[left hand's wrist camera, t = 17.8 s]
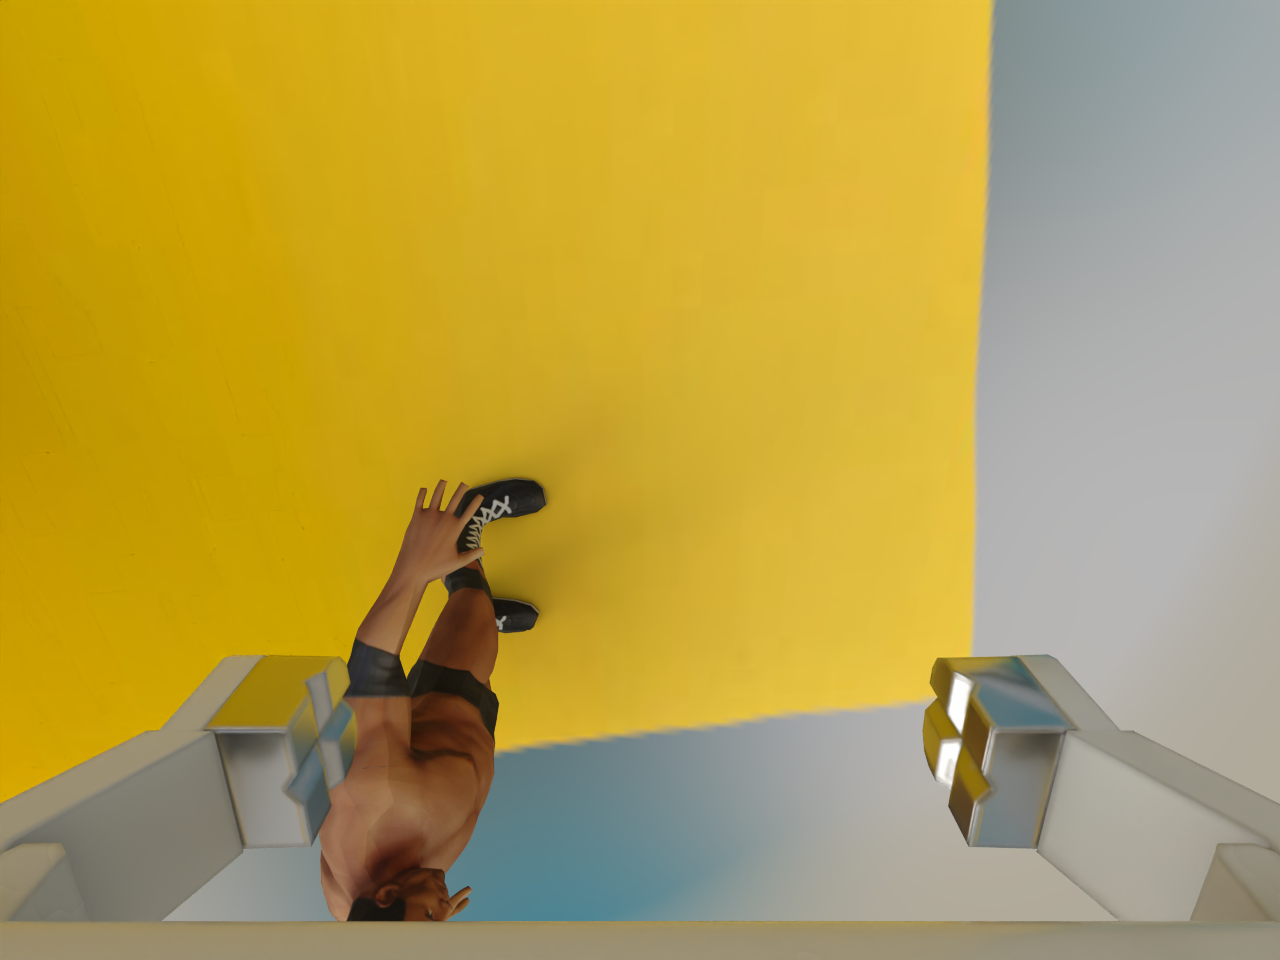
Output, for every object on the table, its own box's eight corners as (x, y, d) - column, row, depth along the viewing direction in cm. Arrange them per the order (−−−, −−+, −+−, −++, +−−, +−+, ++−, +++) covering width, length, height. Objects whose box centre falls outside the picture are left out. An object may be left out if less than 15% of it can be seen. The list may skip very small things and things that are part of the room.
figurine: (536, 704, 56) (436, 1212, 29) (451, 697, 56) (266, 1201, 28) (559, 387, 48) (446, 670, 20) (458, 376, 48) (200, 648, 20)
